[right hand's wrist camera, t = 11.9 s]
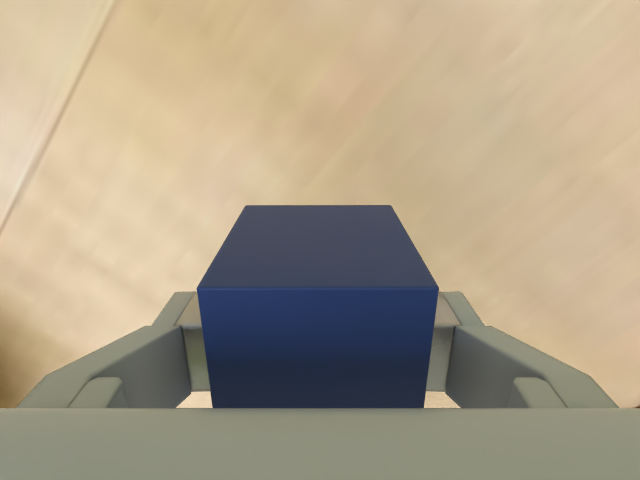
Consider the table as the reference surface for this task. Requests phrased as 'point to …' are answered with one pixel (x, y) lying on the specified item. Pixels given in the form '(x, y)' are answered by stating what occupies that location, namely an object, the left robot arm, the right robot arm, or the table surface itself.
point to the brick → (318, 310)
